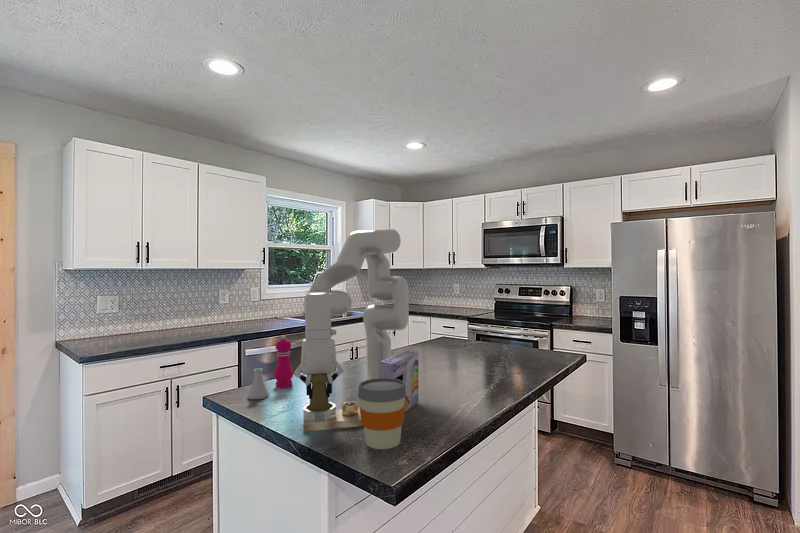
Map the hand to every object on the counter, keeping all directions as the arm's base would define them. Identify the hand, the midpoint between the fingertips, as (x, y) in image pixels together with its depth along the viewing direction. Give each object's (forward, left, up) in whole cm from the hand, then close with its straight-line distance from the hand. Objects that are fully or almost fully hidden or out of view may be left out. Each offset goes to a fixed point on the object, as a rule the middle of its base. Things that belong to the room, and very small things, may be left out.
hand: (319, 396), depth 119 cm
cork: (0, 0, -4) cm, 4 cm away
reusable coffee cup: (-16, +17, -8) cm, 25 cm away
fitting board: (-4, 0, -8) cm, 9 cm away
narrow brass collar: (-9, 0, -6) cm, 11 cm away
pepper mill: (+13, -44, -8) cm, 47 cm away
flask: (+21, -32, -8) cm, 39 cm away
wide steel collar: (0, 0, -6) cm, 6 cm away
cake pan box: (-25, -4, -8) cm, 27 cm away
